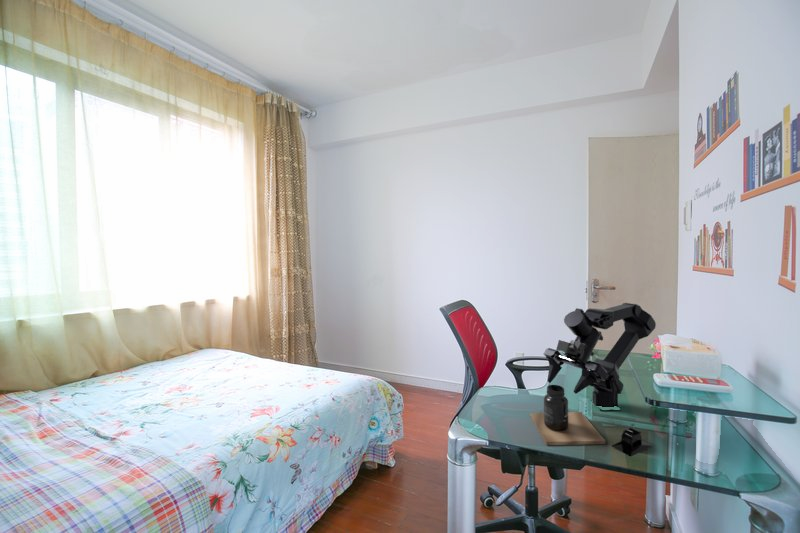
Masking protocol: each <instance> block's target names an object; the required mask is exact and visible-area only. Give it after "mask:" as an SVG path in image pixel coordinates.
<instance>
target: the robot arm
mask: <svg viewBox="0 0 800 533" xmlns="http://www.w3.org/2000/svg"><path fill="white" fill-rule="evenodd" d="M621 320H622V321H623V327H624V331H623V333H622V334H621V335H620V337H619V338H618V340H616V342H615V344H614V345H613V346H612V348H611V349H610V350H609V352H608V353H607V355H606V356H605V357H604V359H600V358H596V359H594V360H593V361H592V360H589V358H590V357H593V356H594V355H595V353H594V352H593V351H594V350H595V348H596V345H597V343H598V342H599V341H603V340H604V337H603V335H602V332H601V331H599V330H598V329H601V330H608V329H610V328H611V327H613V326H614V323H615V322H618V321H621ZM563 322H564V325H565V326H566V327H567V328H568V329H569V330H570V331H571V332H572V334H573V335H575V336H576V337H575V339H574V340H573V339H571V340H570V341H569V342H567V341H565V340H560V339H558V343H557V346H556V349H553V348H550V347H548V348H546V349H545V351H544V352H543V356H544V357H545V359H546V360H547V361H548V374H547V382H548V383H549V384H550V383H552V382H553V381H554V379H555V378H556V377H557V376H558V374H559V372H560V371H561V370H562V368H563V367H562V365H564V364H567V365H569V366H573V367H575V368H577V369H581V375H580V377H579V379H578V381H577V383H576V384H575V387H574V389H573V393H574V394H575V395H576V394H578V393H580V392H582V391H583V390H585V389H586V388H588V387H593V391H592V400H593V402H592V404H593V403H594V404H593V405H594V406H595V407H596V406H602V407H614V406H618V407H619V405H618V404H619V403H618V401H619V399H618V398H619V395H620V394H622V391H624V390H623V389H624V383H622V381H621V380H620V372H619V371H620V370H619V369H620V368H621V366H622V365H623V364H624V362H625V360H626V359H627V357H628V356H629V355H630V353H632V352H631V351H632V350H633V349H634V348H635V346H636V344H637V343H638V342H639V341H640V340H641V339H644V338H647V337H649V336H650V335H651V333H652V332H653V331H655V329H656V326H657V325H656V324H657V323H656V321H655V319H654V318H653V316H652V315H651V314H650V313H648V312H647V311H645V310H644V309H643V308H642V307H641V306H640V305H639V304H637V303H630V302H623V303H622V304H618V305H616V306H611V307H608V308H587V309H586V310H585V311H584V310H583V309H582V308H577V307H576V308H575V309H574V310H573V311H570V312H568V313H567V314H566V315H565V316H564V318H563ZM560 351H561V352H562V354H561V352H560Z"/></svg>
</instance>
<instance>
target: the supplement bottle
mask: <svg viewBox="0 0 800 533" xmlns="http://www.w3.org/2000/svg"><path fill="white" fill-rule="evenodd" d="M565 394H566V393H565V388H564V387H563V386H562V385H559V384H549V385H548V386H546V394H545V395H544V396H543V413H544V424H545V426H546V427H547V428H549V429H551V430H554V431H564V430H566V429H567V428H568V412H569V399H568V397H567V396H565Z"/></svg>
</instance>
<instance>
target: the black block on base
mask: <svg viewBox="0 0 800 533" xmlns="http://www.w3.org/2000/svg"><path fill="white" fill-rule="evenodd" d="M621 433H622V434H621V441H619V442H617V443H614V444H612V445H611V447H612V448H614V449H616V450H618V451H620V452H621V453H623V454H625V455H626V456H629V457H633V456H635V455H637V454H639V453H641V452H643V451H645V450H648V449H649V448H650V449H651V448H652V447H653V445H652V444H651V443H649V442H647V441H644V440H643V439H642V433H641V432H640V431H638V430H635V429H633V427H630V428H628V429H626V430H623V431H622V432H621Z"/></svg>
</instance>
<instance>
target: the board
mask: <svg viewBox="0 0 800 533" xmlns="http://www.w3.org/2000/svg"><path fill="white" fill-rule="evenodd" d="M530 418H531V420H532V421H533V424H534V425H535V427H536V429H537V431H538V433H539V435H540V436H541V438H542V440H543V441H544V443H545V445H546V446H562V445H563V446H569V445H570V446H573V445H576V446H578V445H606V440H605V439H604V437H603V436H602V435H601V434H600V432H599V431H598V430H597V428H595V427H594V425H593V424H592V423H591V422H590V420H589V419H588V418H587V417H586V416H585V414H583V412H582V411H568V428H567V429H566V430H564V431H554V430H551V429H549V428H547V427H546V426H545V424H544V412H533V413H532V412H531V413H530Z"/></svg>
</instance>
